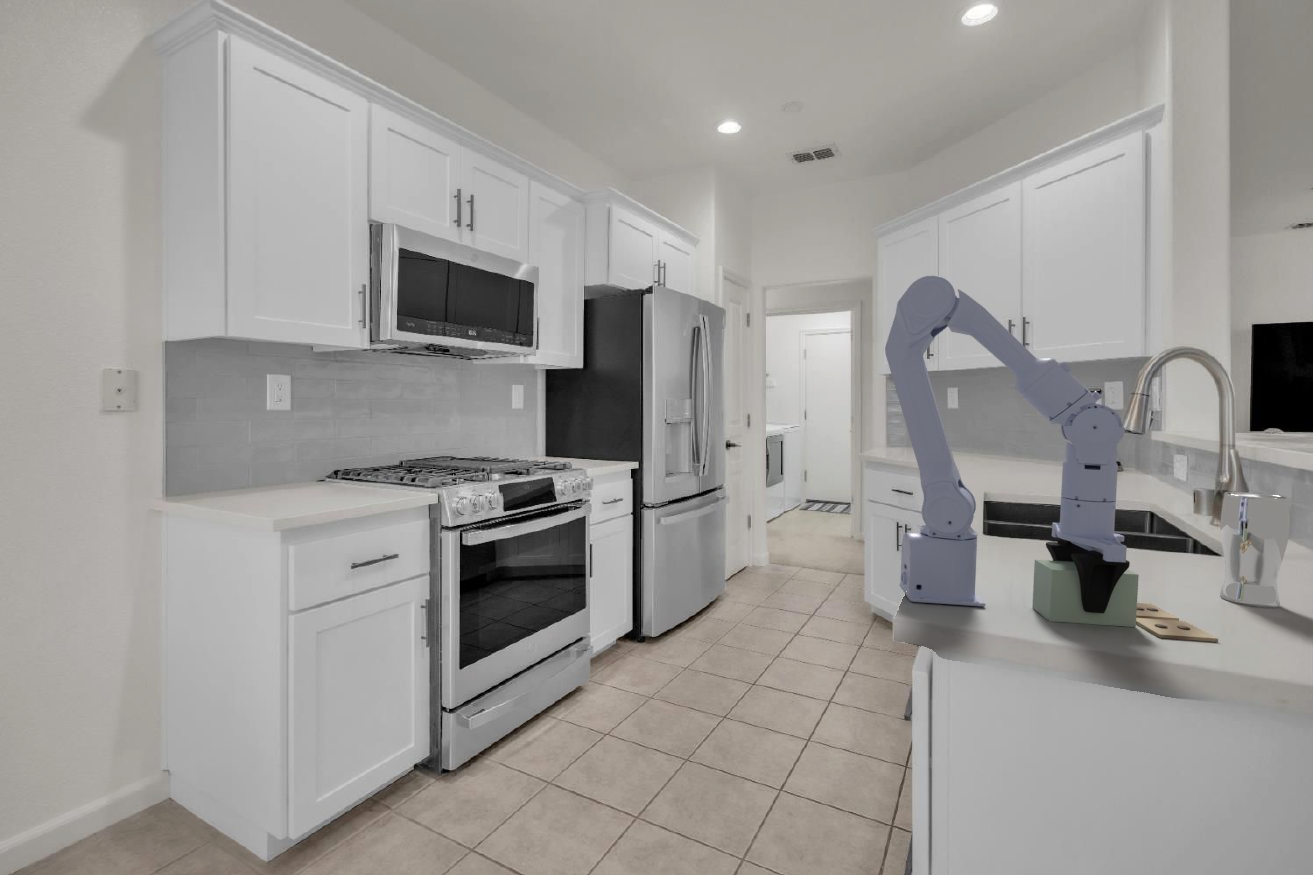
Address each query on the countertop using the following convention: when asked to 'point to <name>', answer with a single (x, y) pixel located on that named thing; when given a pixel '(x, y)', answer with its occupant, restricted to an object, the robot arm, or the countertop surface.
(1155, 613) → the pad three
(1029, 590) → the countertop surface
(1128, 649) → the countertop surface
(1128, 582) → the pale green block
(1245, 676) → the countertop surface
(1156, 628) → the pad two
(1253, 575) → the beer glass
